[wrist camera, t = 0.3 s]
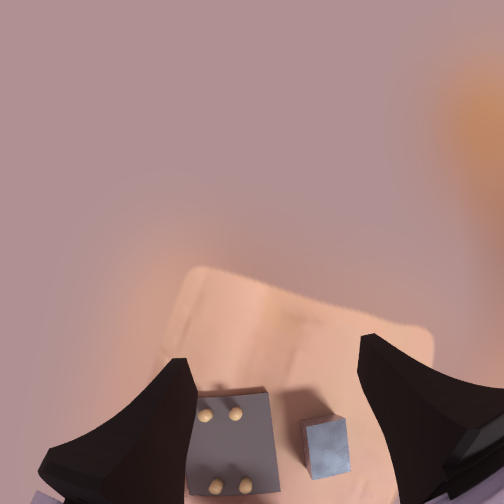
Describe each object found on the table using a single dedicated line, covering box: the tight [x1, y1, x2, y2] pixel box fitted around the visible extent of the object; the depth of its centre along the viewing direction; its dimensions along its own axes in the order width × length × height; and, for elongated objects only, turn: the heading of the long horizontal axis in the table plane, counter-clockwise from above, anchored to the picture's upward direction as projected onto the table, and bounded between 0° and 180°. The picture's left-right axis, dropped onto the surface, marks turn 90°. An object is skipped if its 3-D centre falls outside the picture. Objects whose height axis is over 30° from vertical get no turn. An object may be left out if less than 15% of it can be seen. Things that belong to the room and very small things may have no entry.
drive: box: [301, 414, 350, 480], centre depth 29 cm, size 8×5×6 cm, turn 7°
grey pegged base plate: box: [185, 392, 281, 496], centre depth 30 cm, size 16×13×4 cm
